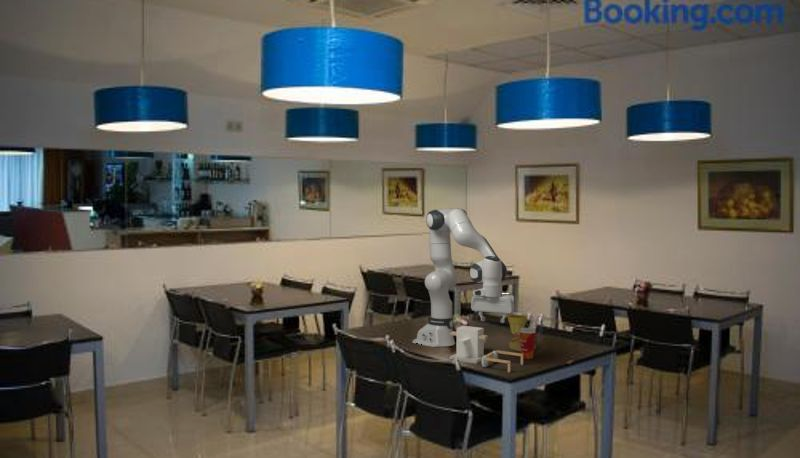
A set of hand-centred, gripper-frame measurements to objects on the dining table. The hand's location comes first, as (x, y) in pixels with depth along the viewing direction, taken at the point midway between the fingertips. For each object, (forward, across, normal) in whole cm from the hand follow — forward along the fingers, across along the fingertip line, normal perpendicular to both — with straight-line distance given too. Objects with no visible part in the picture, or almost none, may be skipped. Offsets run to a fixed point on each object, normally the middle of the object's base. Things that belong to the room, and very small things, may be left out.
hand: (492, 321), depth 305 cm
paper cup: (+20, -10, -20) cm, 30 cm away
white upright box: (+20, +14, -2) cm, 24 cm away
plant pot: (+20, +14, -72) cm, 76 cm away
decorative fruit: (+20, +15, -20) cm, 32 cm away
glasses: (+20, -5, +1) cm, 20 cm away
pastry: (+20, 0, -39) cm, 44 cm away
